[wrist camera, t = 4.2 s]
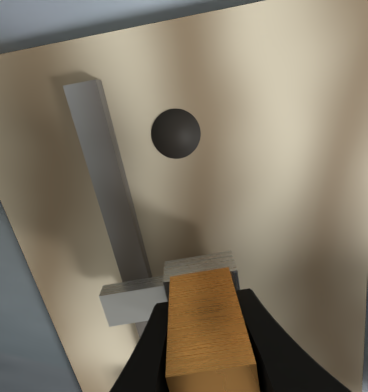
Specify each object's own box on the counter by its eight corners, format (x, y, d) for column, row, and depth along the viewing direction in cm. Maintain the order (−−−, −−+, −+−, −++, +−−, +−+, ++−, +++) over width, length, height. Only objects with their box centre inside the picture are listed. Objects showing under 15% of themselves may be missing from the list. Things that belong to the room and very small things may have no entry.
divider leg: (225, 232, 13) (269, 362, 7) (234, 290, 14) (277, 446, 8) (105, 253, 13) (41, 395, 7) (122, 308, 14) (80, 473, 8)
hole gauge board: (364, -14, 11) (450, -61, 7) (351, 390, 18) (391, 458, 15) (-39, 67, 12) (-130, 58, 8) (108, 424, 19) (92, 497, 16)
